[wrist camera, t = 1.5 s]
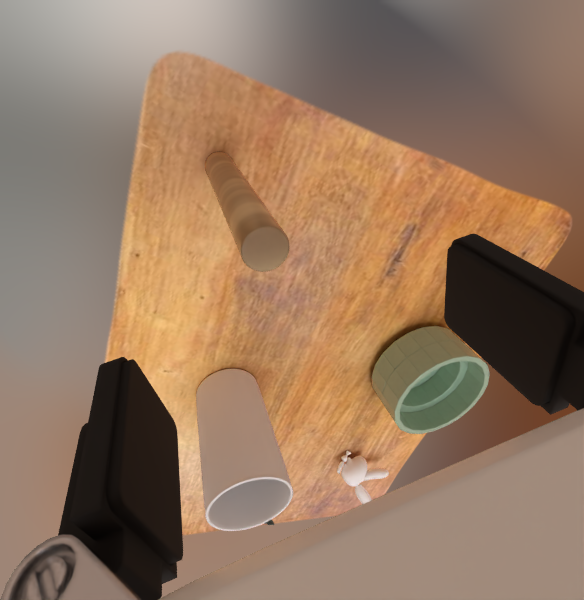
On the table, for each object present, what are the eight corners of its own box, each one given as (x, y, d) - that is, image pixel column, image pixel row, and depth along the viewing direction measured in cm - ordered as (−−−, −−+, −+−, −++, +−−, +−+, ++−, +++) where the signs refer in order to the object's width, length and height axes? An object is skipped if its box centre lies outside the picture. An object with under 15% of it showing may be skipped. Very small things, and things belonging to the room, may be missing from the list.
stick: (200, 156, 25) (234, 235, 14) (228, 147, 25) (284, 219, 14) (210, 184, 26) (248, 278, 15) (237, 176, 27) (294, 263, 15)
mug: (184, 378, 35) (193, 500, 25) (252, 356, 36) (285, 465, 26) (212, 440, 41) (229, 557, 31) (270, 419, 42) (303, 527, 32)
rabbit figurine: (359, 439, 49) (398, 476, 51) (343, 435, 53) (381, 470, 54) (335, 479, 47) (377, 516, 48) (320, 472, 50) (360, 507, 52)
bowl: (364, 343, 40) (392, 382, 35) (456, 308, 41) (495, 341, 36) (372, 406, 46) (396, 447, 42) (450, 375, 48) (483, 410, 43)
